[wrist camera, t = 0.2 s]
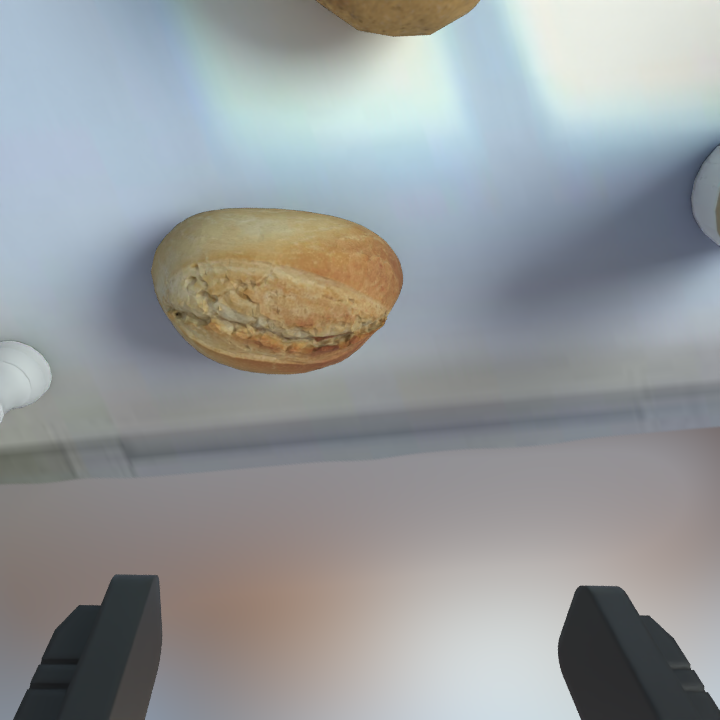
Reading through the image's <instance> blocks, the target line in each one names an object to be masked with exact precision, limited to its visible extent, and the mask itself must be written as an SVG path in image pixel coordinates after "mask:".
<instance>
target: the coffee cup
mask: <svg viewBox="0 0 720 720" xmlns="http://www.w3.org/2000/svg"><path fill="white" fill-rule="evenodd" d="M691 203H692V212H693V216H694V218H695V219H696V221H697V223H698V225H699V227H700V228H701V229H702V230H703V232H704V234H705V235H706V236H708V237H709V238H710V239H711V240H712V241H714V242H715V243H716V244H717V245H719V246H720V145H719V146H717V147H716V148H715V149H714V151H713V152H712V153H711V154H710V155H709V156H708V158H707V159H706V160H705V161H704V162H703V164H702V166H701V168H700V170H699V172H698V174H697V176H696V178H695V180H694V185H693V190H692V195H691Z"/></svg>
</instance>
